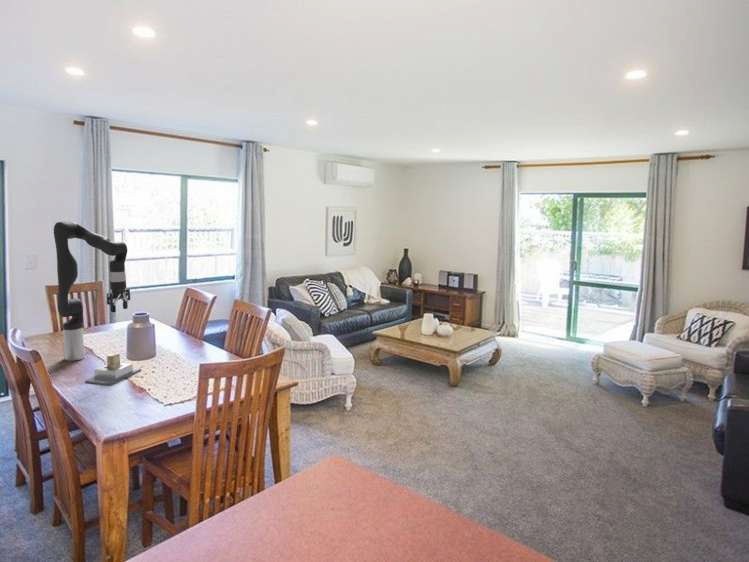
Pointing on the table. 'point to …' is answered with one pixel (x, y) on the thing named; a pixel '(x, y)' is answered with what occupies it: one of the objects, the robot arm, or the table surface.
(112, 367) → the wooden square peg
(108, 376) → the square peg board
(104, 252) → the robot arm
